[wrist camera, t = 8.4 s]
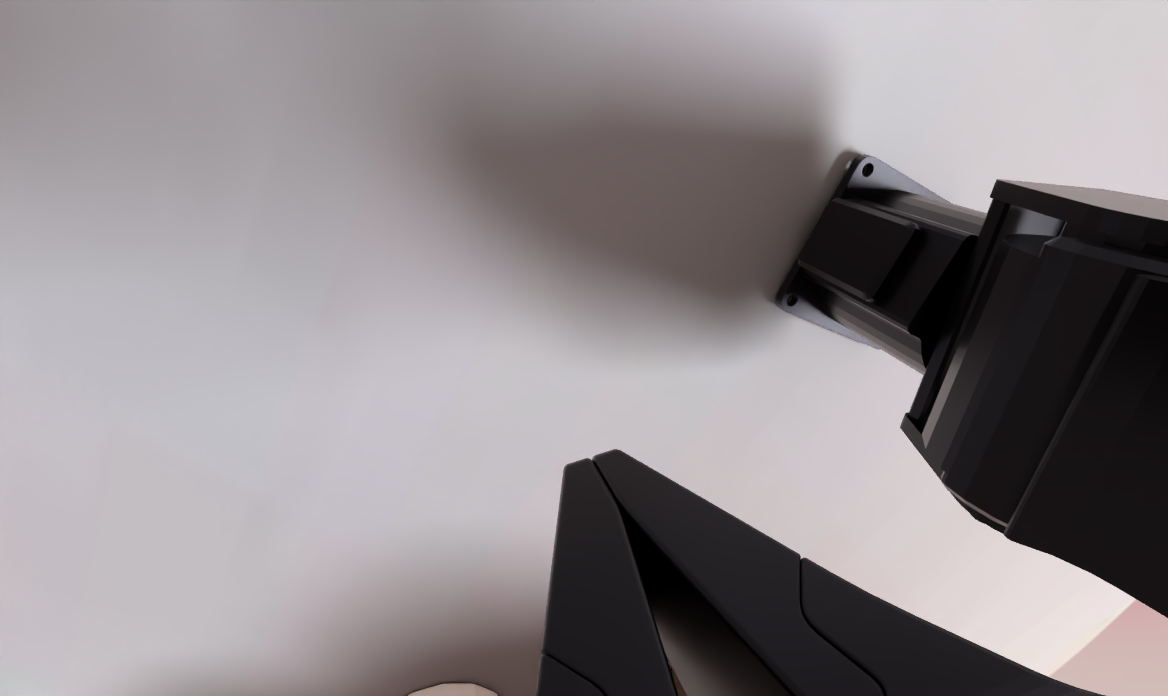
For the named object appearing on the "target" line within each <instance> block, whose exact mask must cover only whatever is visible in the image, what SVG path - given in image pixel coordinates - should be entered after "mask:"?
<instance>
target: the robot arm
mask: <svg viewBox="0 0 1168 696" xmlns="http://www.w3.org/2000/svg"><path fill="white" fill-rule="evenodd" d="M865 165H866V166H867V168H866V171H865V172H864V173H863V174H862V170H863V167H864V166H865ZM990 197H991V198H993V200H992V203H991V205H990V208H989V210H988V213H984V212H980V211H976V210H973V209H969V208H965V207H962V206H958V205H954V204H951V203H950V202H948V201H946V200H945V199H943V198H941V197H940V196H938V195H937V194H935V193H933V192H932V191H930V190H928V189H927V188H925V187H923V186H922V185H920V184H918V183H917V182H915V181H913V180H912V179H910V178H909V177H907V176H905V175H904V174H902V173H900V172H899V171H897V170H895V169H894V168H892V167H890V166H889V165H887V164H886V163H884V162H882V161H881V160H879V159H877V158H876V157H872V156H868V155H860V156H858V157H857V158H855V160H854V161H853V162H852V163H851V165H850V167H849V169H848V170H847V172H846V174H845V176H844V177H843V179H842V181H841V183H840V184H839V186H838V188H837V190H836V192H835V193H834V195H833V197H832V199H831V200H830V202H829V204H828V206H827V207H826V209H825V211H824V213H823V214H822V216H821V218H820V220H819V221H818V223H817V225H816V227H815V228H814V230H813V232H812V234H811V235H810V237H809V239H808V241H807V242H806V244H805V246H804V248H803V249H802V251H801V253H800V255H799V256H798V258H797V260H796V262H795V263H794V265H793V267H792V269H791V270H790V272H789V274H788V276H787V277H786V279H785V281H784V283H783V284H782V286H781V288H780V290H779V291H778V293H777V296H776V304H777V306H778V307H780V308H781V309H783V310H784V311H786V312H788V313H790V314H793V315H795V316H798V317H800V318H803V319H805V320H807V321H810V322H812V323H815V324H817V325H820V326H822V327H825V328H827V329H829V330H832V331H834V332H837V333H839V334H842V335H844V336H846V337H849V338H851V339H854V340H856V341H859V342H861V343H863V344H866V345H868V346H871V347H873V348H876V349H882V350H883V351H885V352H887V353H888V354H890V355H892V356H893V357H895V358H896V359H898V360H900V361H901V362H903V363H905V364H906V365H908V366H910V367H911V368H913V369H915V370H916V371H918V372H919V373H921V374H923V375H924V376H923V378H922V381H921V383H920V386H919V388H918V391H917V393H916V396H915V399H914V401H913V404H912V406H911V409H910V411H909V413H906V414H905V416H904V418H903V421H902V423H901V426H900V428H901V429H902V431H903V432H904V433H905V434H906V436H907V437H908V438H909V440H910V441H911V442H912V443H913V445H914V446H915V447H916V449H917V450H918V451H919V453H920V454H921V455H922V456H923V458H924V459H925V460H926V462H927V463H928V464H929V465H930V467H931V468H932V469H933V471H934V472H935V473H936V474H937V476H938V477H939V478H940V480H941V481H942V483H943V484H944V486H945V487H946V489H947V490H948V491H950V492H951V494H952V495H953V496H954V498H955V499H956V500H957V501H958V502H959V503H960V504H961V505H962V506H963V507H964V508H965V509H966V510H967V511H968V512H969V513H970V514H971V515H972V516H973V517H974V518H975V519H976V520H978V521H980V522H982V523H984V524H987V525H988V526H990V527H991V528H993V529H995V530H997V531H999V532H1001V533H1003V534H1004V535H1005V536H1006V537H1007V538H1008V539H1010V540H1011V541H1014V542H1016V543H1019V544H1022V545H1025V546H1028V547H1031V548H1033V549H1036V550H1039V551H1042V552H1045V553H1048V554H1051V555H1053V556H1055V557H1058V558H1060V559H1062V560H1064V561H1066V562H1068V563H1070V564H1073V565H1075V566H1077V567H1079V568H1081V569H1083V570H1086V571H1088V572H1090V573H1092V574H1094V575H1096V576H1097V577H1099V578H1101V579H1103V580H1104V581H1106V582H1108V583H1110V584H1112V585H1113V586H1115V587H1117V588H1119V589H1120V590H1122V591H1124V592H1125V593H1127V594H1129V595H1130V596H1132V597H1134V598H1135V599H1137V600H1139V601H1141V602H1142V603H1144V604H1146V605H1147V606H1149V607H1150V608H1152V609H1154V610H1156V611H1157V612H1159V613H1160V614H1162V615H1164V616H1165V617H1167V618H1168V200H1162V199H1156V198H1150V197H1145V196H1139V195H1133V194H1128V193H1122V192H1116V191H1110V190H1104V189H1094V188H1084V187H1074V186H1063V185H1053V184H1042V183H1032V182H1022V181H1011V180H1001V179H997V180H996V183H995V185H994V188H993V190H992V193H991V195H990ZM791 295H792V298H791V300H790V301H789V302H786V301H787V298H788V297H789V296H791ZM541 654H542V656H541V657H540V661H539V669H538V677H537V685H536V691H535V696H679V695H678V692H677V689H676V686H675V682H674V679H673V676H672V673H671V670H670V666H669V663H668V660H669V662H670V664H671V666H672V668H673V669H674V671H675V673H676V675H677V677H678V679H679V681H680V683H681V684H682V686H683V688H684V690H685V692H686V694H687V696H1105V695H1101V694H1097V693H1094V692H1090V691H1086V690H1083V689H1080V688H1076V687H1074V686H1071V685H1068V684H1065V683H1062V682H1060V681H1057V680H1054V679H1052V678H1049V677H1047V676H1045V675H1043V674H1040V673H1038V672H1036V671H1033V670H1031V669H1029V668H1027V667H1025V666H1022V665H1020V664H1018V663H1016V662H1014V661H1012V660H1009V659H1007V658H1005V657H1003V656H1001V655H999V654H997V653H994V652H992V651H990V650H988V649H986V648H984V647H981V646H979V645H977V644H975V643H973V642H971V641H969V640H966V639H964V638H962V637H960V636H958V635H956V634H953V633H951V632H949V631H947V630H945V629H943V628H940V627H938V626H936V625H934V624H932V623H930V622H928V621H925V620H923V619H921V618H919V617H917V616H915V615H913V614H911V613H909V612H907V611H904V610H902V609H900V608H898V607H896V606H894V605H892V604H890V603H888V602H886V601H884V600H882V599H880V598H878V597H876V596H874V595H872V594H870V593H868V592H866V591H864V590H862V589H861V588H859V587H857V586H855V585H853V584H851V583H850V582H848V581H846V580H844V579H842V578H840V577H839V576H837V575H835V574H833V573H831V572H830V571H828V570H826V569H824V568H823V567H821V566H819V565H817V564H816V563H814V562H812V561H811V560H809V559H807V558H802V559H801V556H800V555H799V554H798V553H796V552H795V551H793V550H791V549H789V548H788V547H786V546H784V545H783V544H781V543H779V542H777V541H776V540H774V539H772V538H771V537H769V536H767V535H765V534H764V533H762V532H760V531H758V530H757V529H755V528H753V527H752V526H750V525H748V524H746V523H745V522H743V521H741V520H740V519H738V518H736V517H734V516H733V515H731V514H729V513H727V512H726V511H724V510H722V509H721V508H719V507H717V506H715V505H714V504H712V503H710V502H709V501H707V500H705V499H703V498H702V497H700V496H698V495H696V494H695V493H693V492H691V491H690V490H688V489H686V488H684V487H683V486H681V485H679V484H678V483H676V482H674V481H672V480H671V479H669V478H667V477H665V476H664V475H662V474H660V473H659V472H657V471H655V470H653V469H652V468H650V467H648V466H647V465H645V464H643V463H641V462H640V461H638V460H636V459H634V458H633V457H631V456H629V455H628V454H626V453H624V452H622V451H621V450H617V449H614V450H611V451H607V452H604V453H601V454H598V455H595V456H594V457H593V459H592V460H591V459H588V458H586V459H582V460H579V461H576V462H573V463H570V464H567V465H566V466H565V467H564V471H563V479H562V487H561V495H560V503H559V511H558V519H557V527H556V535H555V543H554V551H553V559H552V567H551V575H550V583H549V591H548V599H547V607H546V616H545V624H544V632H543V640H542V648H541ZM666 656H667V657H666ZM667 658H668V660H667Z"/></svg>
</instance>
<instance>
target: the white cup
mask: <svg viewBox="0 0 1168 696" xmlns="http://www.w3.org/2000/svg"><path fill="white" fill-rule="evenodd" d="M408 696H498V695H497V694H496V693H495V692H493V691H491V690H488V689H486V688H483V687H481V686H478V685H476V684H473V683H444V684H440V685H436V686H433V687H429V688H426V689H423V690H420V691H416V692H413V693H411V694H409V695H408Z"/></svg>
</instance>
